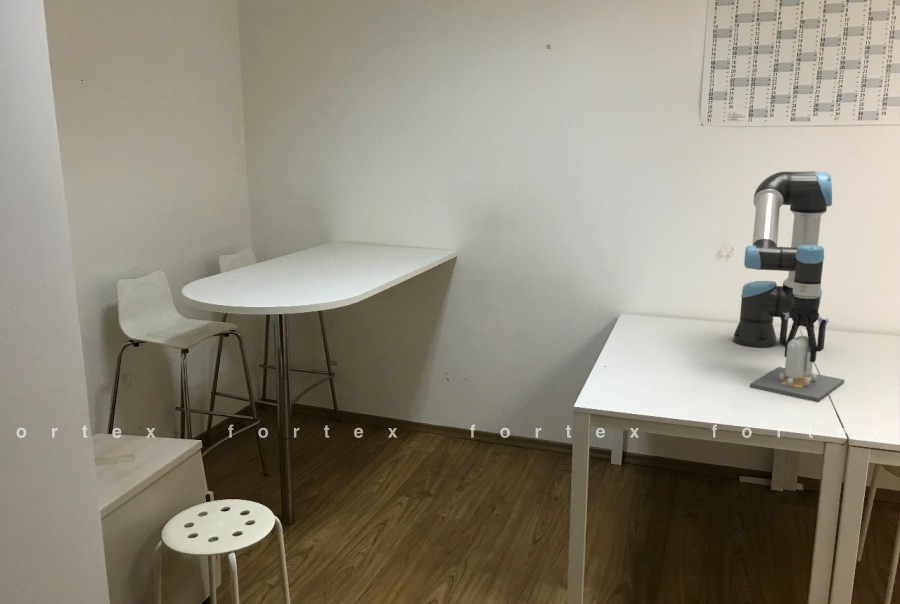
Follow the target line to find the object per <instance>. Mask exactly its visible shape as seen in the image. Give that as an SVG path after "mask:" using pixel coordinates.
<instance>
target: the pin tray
mask: <svg viewBox="0 0 900 604" xmlns="http://www.w3.org/2000/svg"><path fill="white" fill-rule="evenodd" d="M843 383H844V384H845V379H844V378H839V377H838V378H837V377H833V376H828V375H823V374H818V373H813V372H812V373H811V374H808V375H804V376H801V377H796V378H790V377H787V376H786V375H785V367H781V366H778V367H776V368H775V369H772V370H771V371H769V372H767V373H766V374H764V375H763V376H761V377H759V378H757V379H755V380H754V381H752V382H750V383H749V388H752V389H756V390H762V391H766V392H770V393H774V392H775V394H779V393H780V395H783V394H784V396H788V395H789V396H788V397H792V396H793V397H792V398H797V399H801V400H802V399H803V400H806V399H807V401H811V400H812V402H815V401H817V402H816V403H819V402H820V400H821V399H822V400H823V399H824V397H825V396H826V397H827V396H829V395H830V394H831V393H833V392H834V391H835V390H837V389H838V388H840V387H841V386H842V385H843ZM840 385H841V386H840ZM839 386H840V387H839ZM837 387H838V388H837ZM836 388H837V389H836ZM833 390H834V391H833ZM832 391H833V392H832ZM829 393H830V394H829ZM828 394H829V395H828ZM826 397H825V398H826ZM822 400H821V401H822Z"/></svg>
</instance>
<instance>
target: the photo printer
mask: <svg viewBox="0 0 900 604" xmlns="http://www.w3.org/2000/svg"><path fill="white" fill-rule="evenodd" d="M808 351H810V345H809V339H808V335H800V336H797V337H796V336H795V338H794V339H792V340H791V341H790V342H789V343H788V345H787V354H786V357H785V367H784V368H785V375H786V376H787V377H790V378H796V377H801V376H804V375H808V374H811V373H813V366H814V362H812V368H811V371H810V372H809V373H807V372H806V363H807V353H808Z"/></svg>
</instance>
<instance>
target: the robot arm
mask: <svg viewBox="0 0 900 604" xmlns="http://www.w3.org/2000/svg"><path fill="white" fill-rule="evenodd" d="M832 186H833V185H832V177H831V174H830V173H828V172H824V171H823V172H822V171H815V170H814V171H778V172H776V173H774V174H771V175H770V176H768V177H766V178H765V179H764V180H763V181H762V182H761V183H760V184H759V185H758V186H757V187H756V190H755V191H754V194H753V205H754V207H755V213H754V224H753V234H752V245H747V246H746V247H745V250H744V251H745V252H744V261H743V262H744V263H743V264H744V265H743V266H744V268H745V269H750V270H756V271H781V272H788V275H787V278H785V279H784V280H783V282H782V285H778V284H777V283H776V281H774V280H759V281H758V280H757V281H751V282H747V283H745V284H743V286H742V291H741V295H740V297H741V301H740V302H741V303H740V310H739V311H740V314H739V321H738V325H737V326H736V328H735V331H734V333H733V337H732V338H733V341H732V342H734V343H736V344H738V345H741V346H746V347H754V348H770V347H775V346H776V345H777V336H776V335H777V334H776V331H775V327H774V318H780V322H781V323H780V332H779V340H778V343H779V345H781V346H783V347H784V348H785V349H784V358H786V354H787V345H788V343H789V342H790V341H791V340H792V339H794V338H796V335H797V334H798V330H799V328H800V327H804V328H805V330H806V332H807V333H806V334H807V336H808V339H809V345H810V351H808V353H807V363H806V372H807V373H809V372H810V371H811V368H812V369H813V367H812V362H813V363H815V362H816V360H817V352H821V351H823V350H824V349H825V341H826V340H825V339H826V330H827V329H826V328H827V325H828V322H829V319H828V318H824V317H822V316H820V313H819V310H820V309H819V308H820V304H821V299H822V294H823V290H822V288H821V287H822V277H823V276H822V275H823V267H824V266H823V265H824V260H825V249H824V247H823V246H821V245H819V240H820V239H819V238H820V237H819V236H820V229H821V220H822V219H821V218H822V215H824V214H825V213H826V212H827V209H828V207H831V206H833V189H832ZM782 206H789V207H790V208H789V211H790V212H791V214H793V224H792V236H791V244H790V245H791V246H790V247H788V246H787V247H786V246H778V241H779V240H778V239H779V223H780V212H781V211H780V209H781V207H782ZM790 319H791V320H792V325H791V329H790V331H789V334H788V336H787V333H788V325H789V320H790ZM817 321H818V332H817V340H816V334H815V333H816V332H815V325H814V324H815V323H816V322H817Z"/></svg>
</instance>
